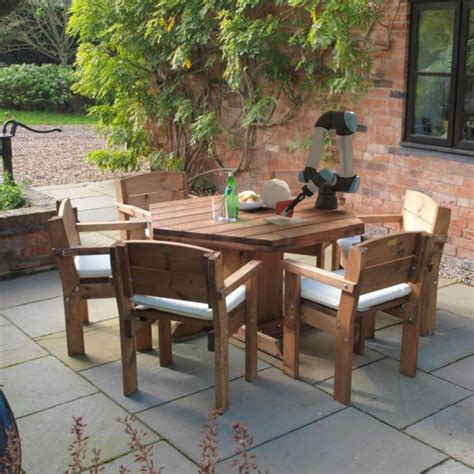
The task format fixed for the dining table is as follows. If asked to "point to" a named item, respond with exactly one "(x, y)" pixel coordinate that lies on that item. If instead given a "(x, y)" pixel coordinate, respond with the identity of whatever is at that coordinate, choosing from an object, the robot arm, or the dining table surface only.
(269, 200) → the geometric orb
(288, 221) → the stone tile
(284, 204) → the flower pot
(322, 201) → the robot arm
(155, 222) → the dining table surface
